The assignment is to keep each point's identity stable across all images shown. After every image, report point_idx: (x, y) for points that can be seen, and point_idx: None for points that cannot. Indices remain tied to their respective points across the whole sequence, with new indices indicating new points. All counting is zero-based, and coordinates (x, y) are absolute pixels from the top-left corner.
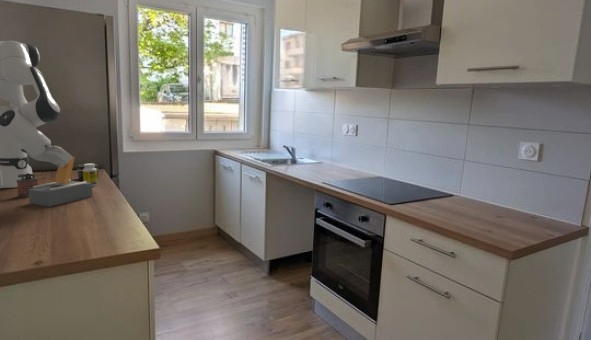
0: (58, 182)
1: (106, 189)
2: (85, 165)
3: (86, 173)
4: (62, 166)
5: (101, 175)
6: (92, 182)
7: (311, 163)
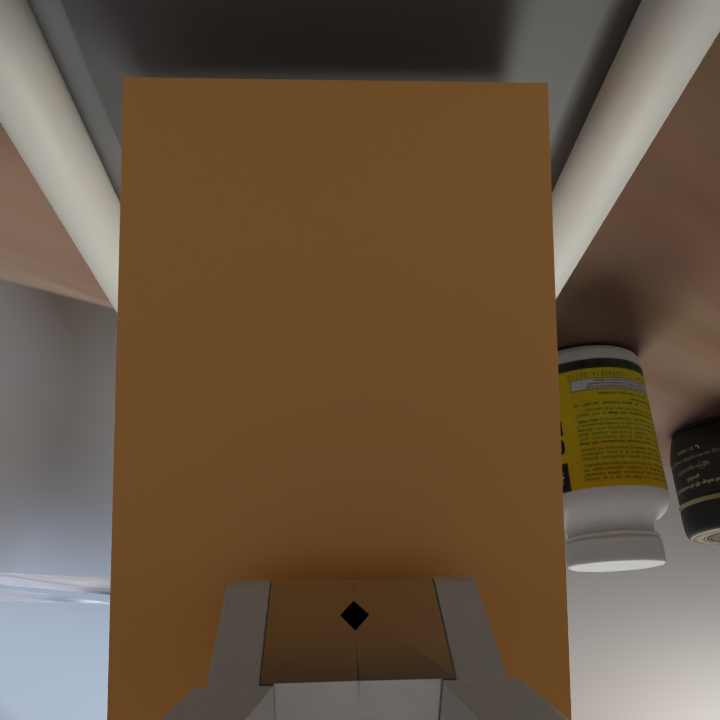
0: (377, 87)
1: None
2: (631, 551)
3: (600, 467)
4: (225, 622)
5: None
6: None
7: (70, 597)
